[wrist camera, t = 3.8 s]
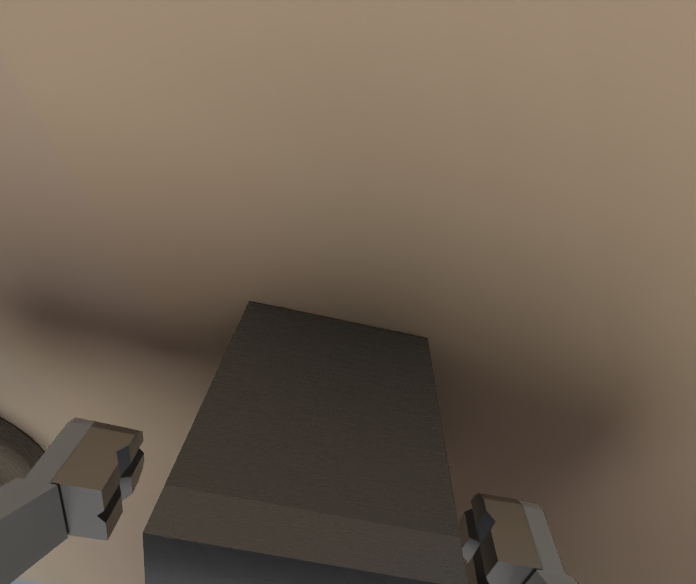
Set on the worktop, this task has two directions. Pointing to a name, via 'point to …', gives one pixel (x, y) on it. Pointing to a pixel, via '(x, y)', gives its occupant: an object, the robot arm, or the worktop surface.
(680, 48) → the worktop surface
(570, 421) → the worktop surface
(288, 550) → the plain grey cube
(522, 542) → the robot arm
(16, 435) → the ratchet
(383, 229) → the worktop surface
